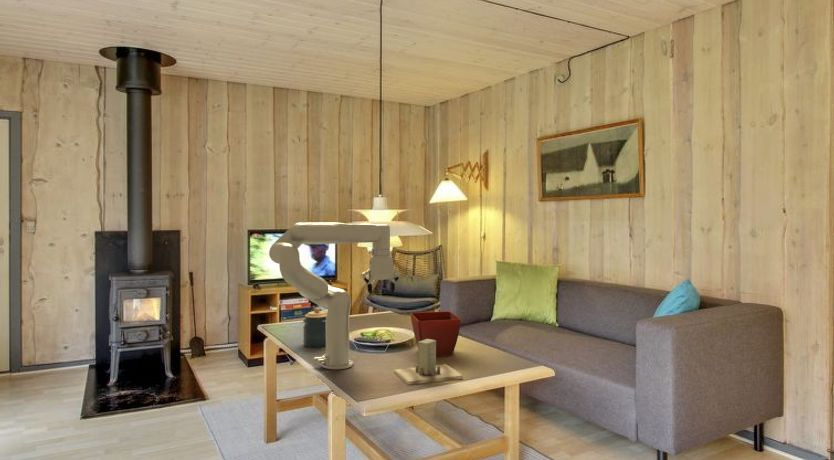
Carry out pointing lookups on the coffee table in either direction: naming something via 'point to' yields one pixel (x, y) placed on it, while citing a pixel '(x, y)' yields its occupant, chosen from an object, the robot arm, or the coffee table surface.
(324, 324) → the canister
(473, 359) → the coffee table surface
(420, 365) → the skincare box
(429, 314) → the plant pot
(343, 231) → the robot arm
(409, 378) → the pin tray
